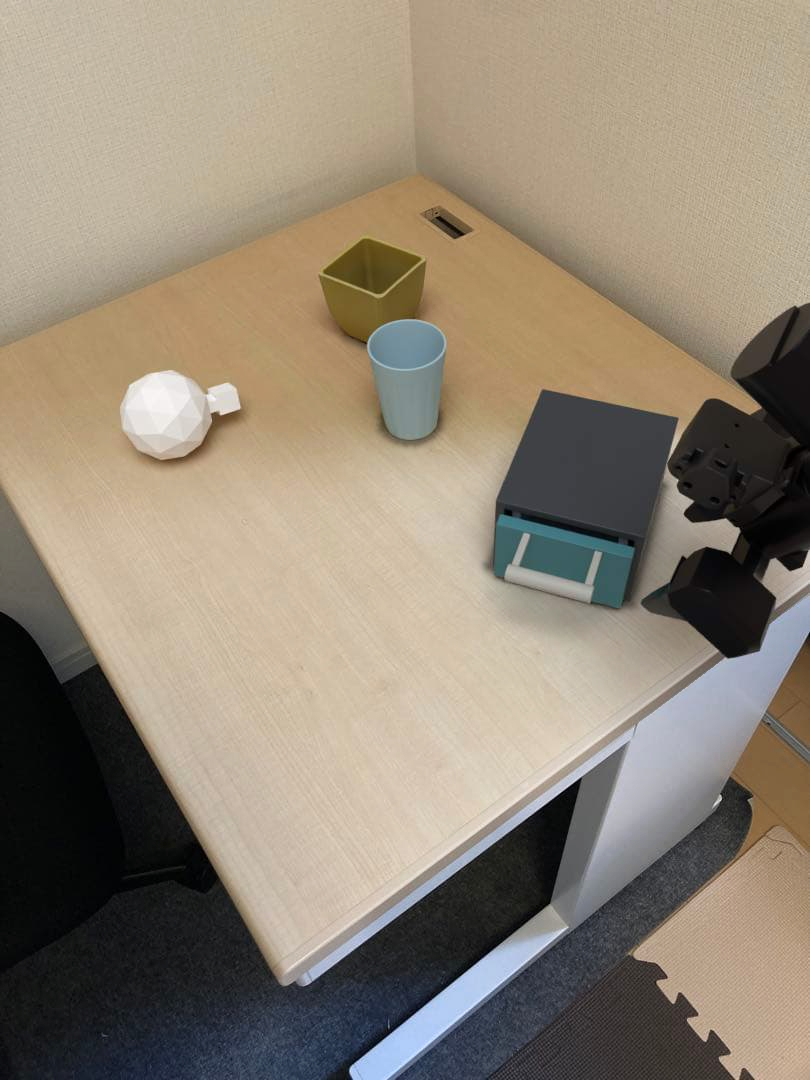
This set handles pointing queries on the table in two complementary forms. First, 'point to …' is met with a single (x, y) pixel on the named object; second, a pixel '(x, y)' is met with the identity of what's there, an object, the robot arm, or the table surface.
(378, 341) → the cup
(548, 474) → the drawer cabinet
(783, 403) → the robot arm
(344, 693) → the table surface
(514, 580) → the teal drawer
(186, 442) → the perfume bottle
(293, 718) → the table surface
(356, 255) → the flower pot
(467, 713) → the table surface
